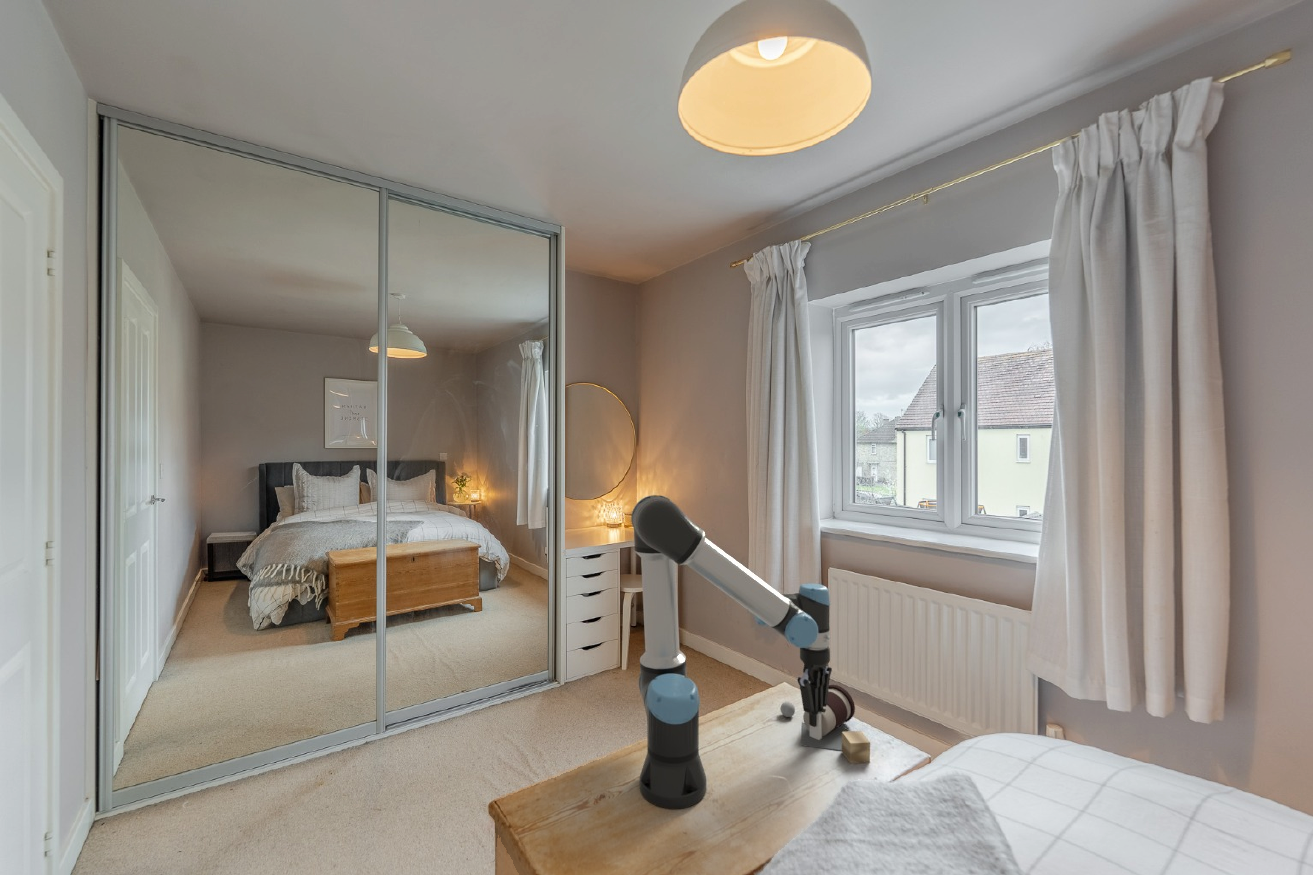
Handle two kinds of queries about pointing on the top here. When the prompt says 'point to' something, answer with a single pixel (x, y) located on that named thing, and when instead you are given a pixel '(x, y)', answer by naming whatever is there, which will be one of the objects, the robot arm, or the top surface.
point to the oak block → (856, 747)
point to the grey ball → (787, 709)
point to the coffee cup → (834, 709)
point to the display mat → (824, 739)
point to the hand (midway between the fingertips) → (815, 736)
